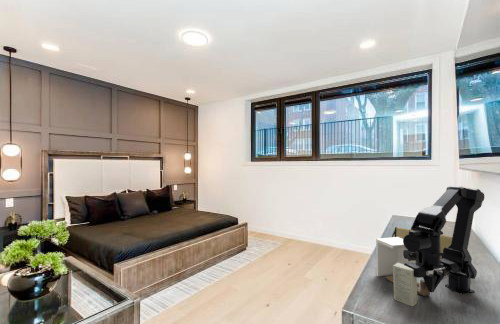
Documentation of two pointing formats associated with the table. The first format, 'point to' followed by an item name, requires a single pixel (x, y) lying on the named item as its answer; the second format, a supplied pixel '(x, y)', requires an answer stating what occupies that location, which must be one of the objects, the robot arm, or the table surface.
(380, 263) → the white upright block
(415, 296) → the skincare box
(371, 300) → the table surface
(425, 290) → the tan wooden paddle
